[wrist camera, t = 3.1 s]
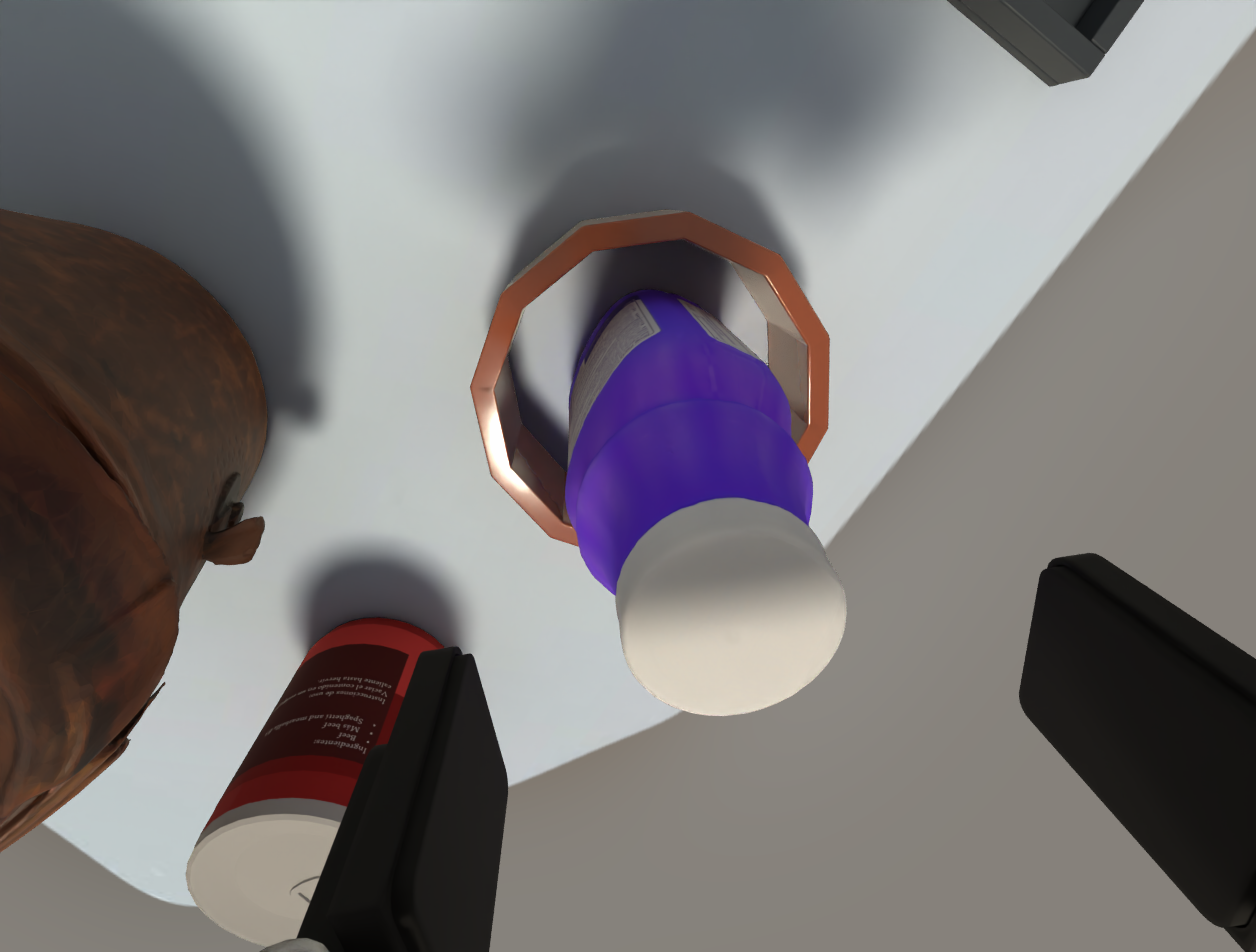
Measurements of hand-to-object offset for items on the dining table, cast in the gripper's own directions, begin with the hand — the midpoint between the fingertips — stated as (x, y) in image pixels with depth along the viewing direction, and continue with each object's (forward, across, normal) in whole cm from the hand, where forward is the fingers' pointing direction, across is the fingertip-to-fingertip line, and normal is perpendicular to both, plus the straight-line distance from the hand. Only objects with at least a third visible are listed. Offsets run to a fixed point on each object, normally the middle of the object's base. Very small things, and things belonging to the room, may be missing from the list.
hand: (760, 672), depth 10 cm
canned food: (+18, +15, +13) cm, 27 cm away
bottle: (+18, 0, -1) cm, 18 cm away
